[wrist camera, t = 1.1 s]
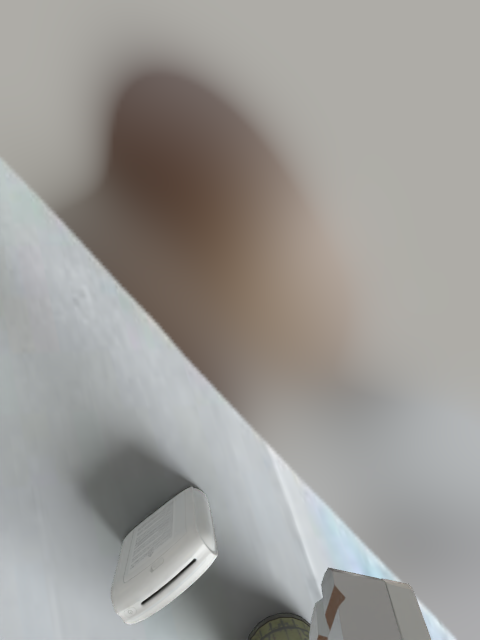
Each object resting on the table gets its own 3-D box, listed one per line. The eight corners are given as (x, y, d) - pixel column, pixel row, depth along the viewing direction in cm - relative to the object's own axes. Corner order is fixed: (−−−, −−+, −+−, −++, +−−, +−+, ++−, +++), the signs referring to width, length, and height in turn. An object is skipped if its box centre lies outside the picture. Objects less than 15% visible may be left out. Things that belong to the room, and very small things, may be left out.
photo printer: (141, 568, 50) (130, 649, 38) (117, 538, 50) (97, 610, 38) (216, 508, 51) (229, 567, 39) (193, 478, 51) (199, 528, 39)
